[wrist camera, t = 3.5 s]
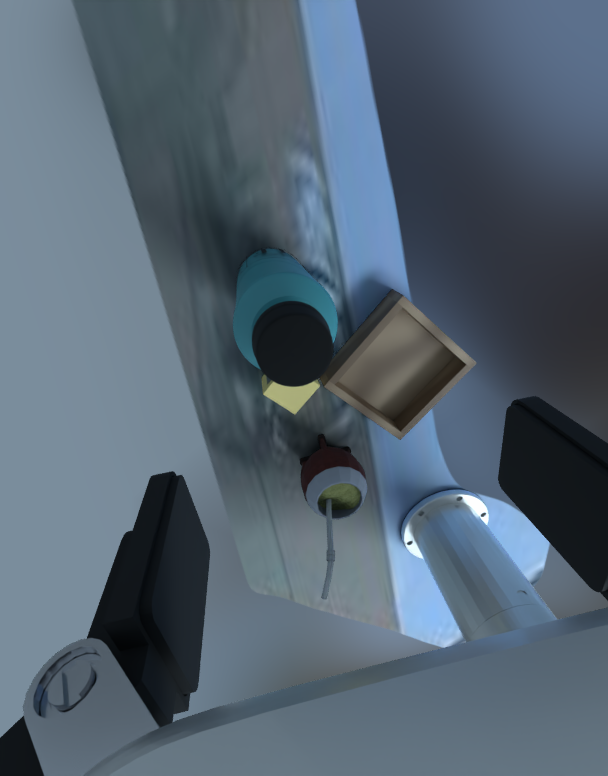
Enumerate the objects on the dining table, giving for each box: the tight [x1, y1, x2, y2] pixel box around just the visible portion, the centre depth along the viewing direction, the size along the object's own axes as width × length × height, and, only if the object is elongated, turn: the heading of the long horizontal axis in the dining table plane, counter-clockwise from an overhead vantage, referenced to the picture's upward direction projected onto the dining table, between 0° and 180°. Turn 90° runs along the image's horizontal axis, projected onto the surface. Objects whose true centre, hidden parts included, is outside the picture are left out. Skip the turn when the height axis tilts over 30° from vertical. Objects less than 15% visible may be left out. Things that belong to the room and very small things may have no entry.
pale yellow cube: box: [262, 374, 320, 414], centre depth 39 cm, size 4×4×4 cm
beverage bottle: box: [233, 247, 338, 387], centre depth 27 cm, size 6×7×20 cm
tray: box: [320, 289, 476, 440], centre depth 40 cm, size 12×12×3 cm
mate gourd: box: [300, 434, 367, 599], centre depth 39 cm, size 8×8×15 cm
